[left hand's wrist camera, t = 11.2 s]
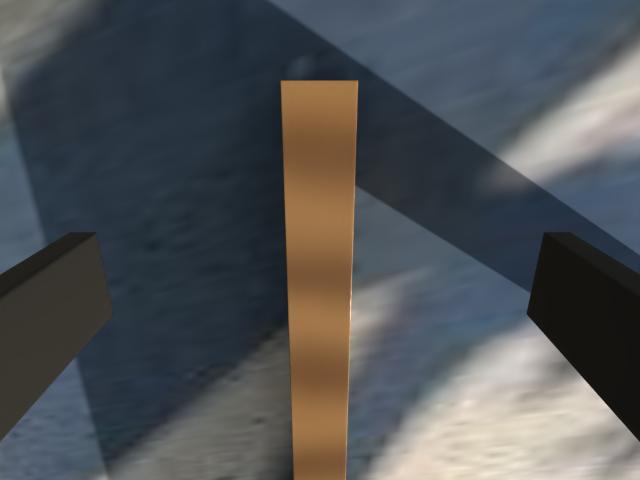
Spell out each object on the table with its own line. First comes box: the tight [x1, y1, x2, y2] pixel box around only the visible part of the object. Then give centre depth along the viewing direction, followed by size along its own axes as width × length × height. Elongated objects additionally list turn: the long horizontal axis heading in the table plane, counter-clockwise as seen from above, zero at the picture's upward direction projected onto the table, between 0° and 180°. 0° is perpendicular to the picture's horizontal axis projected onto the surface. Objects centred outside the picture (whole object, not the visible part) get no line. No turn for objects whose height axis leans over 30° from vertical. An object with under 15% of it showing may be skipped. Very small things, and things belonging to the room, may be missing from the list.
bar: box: [281, 80, 358, 480], centre depth 42 cm, size 67×5×7 cm, turn 0°
